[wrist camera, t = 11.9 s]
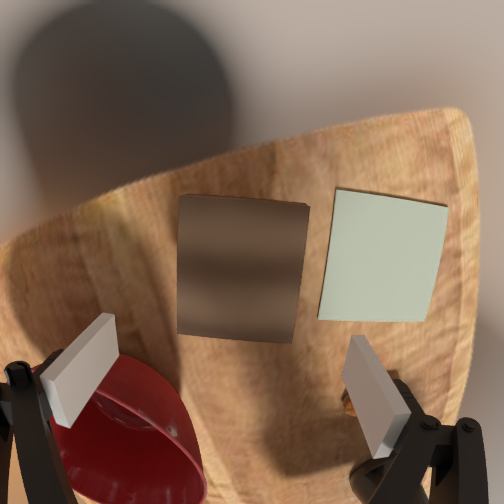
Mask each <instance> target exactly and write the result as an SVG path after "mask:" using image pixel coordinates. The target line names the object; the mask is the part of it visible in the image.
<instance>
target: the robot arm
mask: <svg viewBox="0 0 504 504" xmlns="http://www.w3.org/2000/svg"><path fill="white" fill-rule="evenodd" d="M118 356H119V350H118V342H117V334H116V325H115V315H114V314H110V313H104V312H103V313H102V314H100V315H99V316H98V317H97V318H96V319H95V320H94V321H93V322H92V323H91V324H90V325H89V326H88V327H87V328H86V329H85V330H84V331H83V332H82V333H81V334H80V335H79V336H78V337H77V338H76V339H75V340H74V341H73V342H72V343H71V344H70V345H69V346H68V347H67V348H66V349H65V350H63V349H59V350H57V351H55V352H53V353H52V354H51V355H50V356H49V357H48V358H47V359H46V360H45V361H44V362H43V364H41V365H40V366H39V367H38V368H37V369H36V370H35V371H34V372H33V373H32V371H31V368H30V365H29V364H28V363H27V362H24V361H15V362H11V363H10V364H8V365H7V366H6V367H5V370H4V372H5V375H6V378H7V380H8V383H1V382H0V504H7V501H8V500H7V499H8V480H9V468H10V458H11V449H12V442H13V434H14V436H15V443H16V449H17V454H18V460H19V465H20V470H21V475H22V479H23V483H24V488H25V492H26V495H27V499H28V502H29V504H78V502H77V500H76V498H75V495H74V492H73V490H72V487H71V485H70V482H69V480H68V477H67V474H66V471H65V469H64V466H63V463H62V460H61V457H60V454H59V450H58V447H57V444H56V440H55V437H54V433H53V430H52V426H51V423H50V421H49V419H50V418H51V416H52V415H53V416H54V419H55V421H56V423H57V424H59V425H62V426H65V427H68V428H71V426H72V424H73V423H74V421H75V420H76V418H77V417H78V415H79V414H80V412H81V411H82V409H83V408H84V406H85V405H86V403H87V402H88V400H89V399H90V397H91V396H92V394H93V393H94V391H95V390H96V388H97V387H98V385H99V384H100V382H101V381H102V380H103V378H104V377H105V375H106V374H107V372H108V371H109V369H110V368H111V367H112V365H113V364H114V362H115V361H116V359H117V358H118ZM341 376H342V379H343V381H344V384H345V386H346V389H347V391H348V394H349V396H350V399H351V402H352V404H353V407H354V409H355V412H356V415H357V417H358V420H359V423H360V425H361V428H362V431H363V433H364V436H365V439H366V441H367V444H368V447H369V449H370V452H371V455H372V459H370V460H369V461H367V462H365V463H364V464H363V465H361V466H360V467H359V468H358V469H357V470H356V471H355V472H354V473H353V474H352V476H351V478H350V485H351V488H352V491H353V493H354V494H355V495H356V496H357V498H358V499H359V500H360V501H361V503H362V504H489V499H488V481H487V469H486V459H485V451H484V443H483V437H482V430H481V426H480V424H479V423H478V422H477V421H476V420H474V419H472V418H468V417H463V418H461V419H459V420H458V421H457V423H456V425H455V426H449V425H441V423H440V421H439V420H438V419H437V418H435V417H433V416H430V415H425V413H424V411H423V410H422V408H421V407H420V405H419V404H418V402H417V400H416V399H415V398H414V396H413V394H412V393H411V391H410V389H409V388H408V386H407V385H406V384H405V383H403V382H402V381H401V380H400V379H397V380H392V379H391V378H390V376H389V374H388V373H387V371H386V369H385V368H384V366H383V364H382V363H381V361H380V360H379V358H378V356H377V355H376V353H375V352H374V350H373V348H372V347H371V345H370V344H369V342H368V340H367V339H366V337H365V336H364V335H352V336H351V340H350V344H349V348H348V352H347V356H346V360H345V364H344V367H343V371H342V375H341ZM393 448H394V450H393ZM427 467H432V475H431V486H430V496H429V500H428V497H427V495H426V493H425V491H424V489H423V486H422V479H423V477H424V474H425V472H426V470H427Z"/></svg>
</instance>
